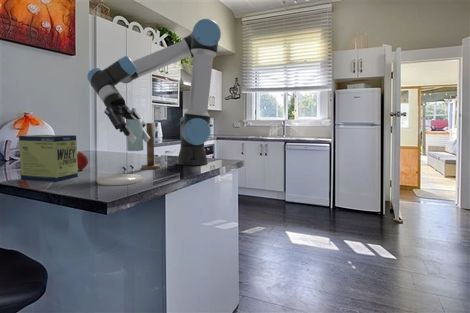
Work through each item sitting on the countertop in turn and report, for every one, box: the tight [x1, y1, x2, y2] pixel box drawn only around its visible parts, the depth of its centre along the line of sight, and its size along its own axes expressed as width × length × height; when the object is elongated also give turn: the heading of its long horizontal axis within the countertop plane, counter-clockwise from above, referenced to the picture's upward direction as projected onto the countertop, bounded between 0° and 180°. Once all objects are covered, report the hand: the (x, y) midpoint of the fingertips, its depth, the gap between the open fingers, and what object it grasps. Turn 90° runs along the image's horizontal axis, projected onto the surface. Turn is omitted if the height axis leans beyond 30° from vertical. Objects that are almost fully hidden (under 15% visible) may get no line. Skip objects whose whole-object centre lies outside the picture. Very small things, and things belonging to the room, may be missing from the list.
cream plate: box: [96, 173, 144, 186], centre depth 110 cm, size 15×15×1 cm
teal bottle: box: [125, 118, 144, 152], centre depth 123 cm, size 6×6×12 cm
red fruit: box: [77, 150, 89, 171], centre depth 133 cm, size 6×6×8 cm
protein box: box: [18, 134, 79, 183], centre depth 114 cm, size 10×16×16 cm
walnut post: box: [141, 122, 161, 170], centre depth 140 cm, size 8×8×20 cm
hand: (141, 140), depth 121 cm, fingers closed on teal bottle, 6 cm apart
